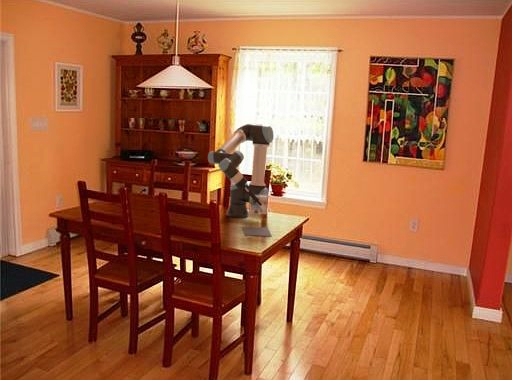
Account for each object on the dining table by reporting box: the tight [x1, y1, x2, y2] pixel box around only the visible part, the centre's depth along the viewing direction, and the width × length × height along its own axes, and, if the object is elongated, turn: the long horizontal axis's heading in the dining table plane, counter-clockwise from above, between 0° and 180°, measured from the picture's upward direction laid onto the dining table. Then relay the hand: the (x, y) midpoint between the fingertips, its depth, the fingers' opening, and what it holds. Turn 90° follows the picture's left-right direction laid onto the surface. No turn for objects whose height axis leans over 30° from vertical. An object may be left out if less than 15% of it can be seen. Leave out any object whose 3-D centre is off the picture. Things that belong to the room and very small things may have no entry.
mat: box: [242, 226, 273, 238], centre depth 296 cm, size 20×16×1 cm
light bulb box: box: [248, 195, 269, 215], centre depth 293 cm, size 11×7×11 cm, turn 101°
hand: (263, 207), depth 293 cm, fingers closed on light bulb box, 7 cm apart
